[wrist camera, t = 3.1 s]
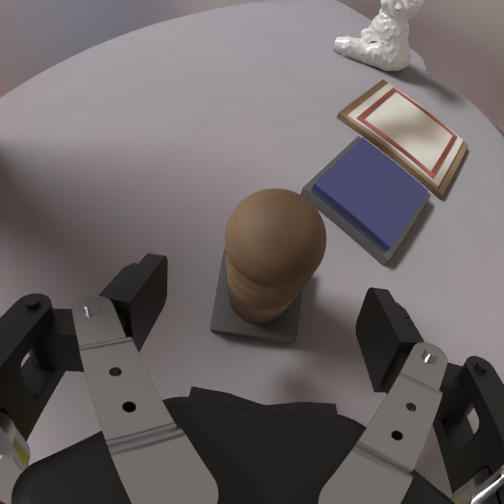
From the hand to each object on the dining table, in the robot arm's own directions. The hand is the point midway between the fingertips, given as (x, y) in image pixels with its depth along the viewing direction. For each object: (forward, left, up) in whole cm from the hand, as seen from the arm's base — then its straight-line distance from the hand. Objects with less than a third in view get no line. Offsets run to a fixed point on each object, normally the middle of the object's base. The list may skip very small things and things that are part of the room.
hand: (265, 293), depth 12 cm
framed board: (-1, +24, -8) cm, 25 cm away
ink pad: (0, +13, -8) cm, 16 cm away
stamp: (-1, +1, -8) cm, 8 cm away
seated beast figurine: (-10, +34, -8) cm, 36 cm away
